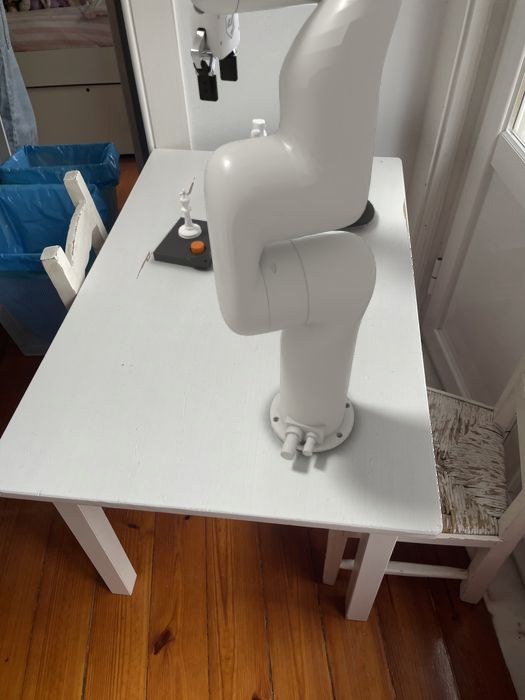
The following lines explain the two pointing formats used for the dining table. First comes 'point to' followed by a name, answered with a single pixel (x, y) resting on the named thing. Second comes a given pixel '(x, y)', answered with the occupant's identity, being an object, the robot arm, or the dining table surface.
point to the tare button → (197, 247)
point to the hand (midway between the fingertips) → (219, 90)
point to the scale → (184, 247)
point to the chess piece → (188, 219)
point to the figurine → (258, 128)
